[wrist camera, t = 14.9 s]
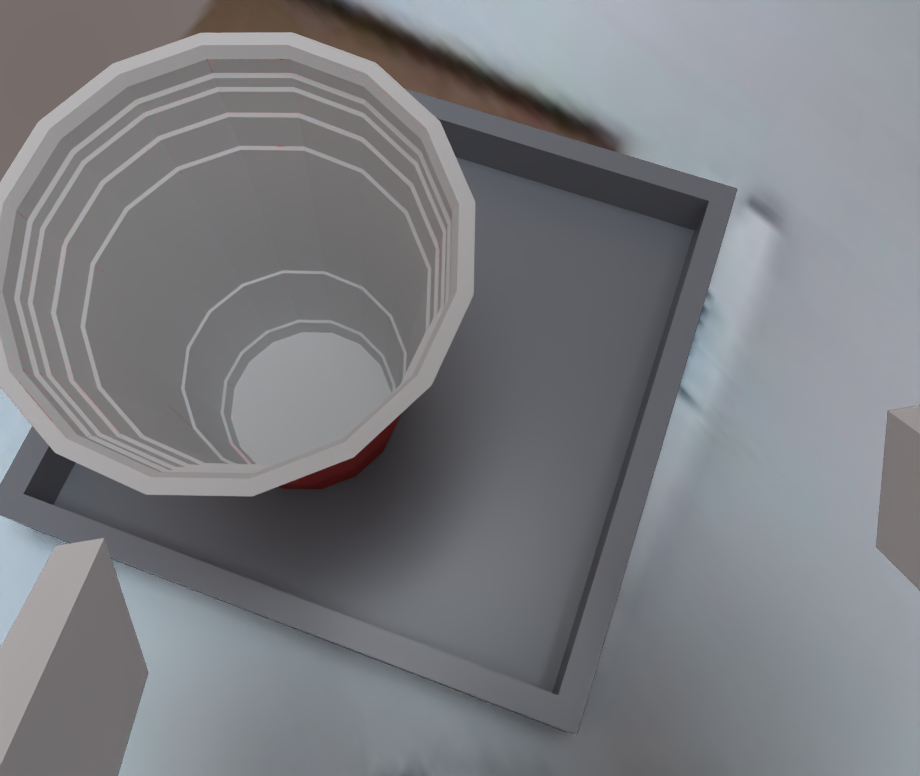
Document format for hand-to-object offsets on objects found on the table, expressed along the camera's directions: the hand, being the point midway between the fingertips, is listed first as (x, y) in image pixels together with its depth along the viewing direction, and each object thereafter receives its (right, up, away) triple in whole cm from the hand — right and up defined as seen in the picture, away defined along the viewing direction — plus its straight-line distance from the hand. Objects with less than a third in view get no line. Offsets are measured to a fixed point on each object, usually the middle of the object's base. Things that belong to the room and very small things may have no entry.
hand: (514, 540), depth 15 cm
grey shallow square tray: (-3, +3, +16) cm, 17 cm away
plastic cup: (-6, +2, +15) cm, 16 cm away
